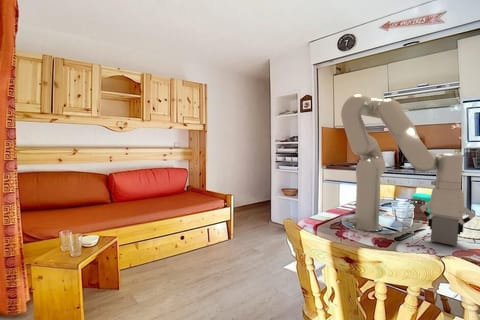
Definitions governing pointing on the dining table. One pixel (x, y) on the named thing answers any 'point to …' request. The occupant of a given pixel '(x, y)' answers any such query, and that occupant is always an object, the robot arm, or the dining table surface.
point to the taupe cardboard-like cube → (444, 229)
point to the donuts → (422, 197)
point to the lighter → (417, 211)
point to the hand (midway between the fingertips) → (444, 230)
